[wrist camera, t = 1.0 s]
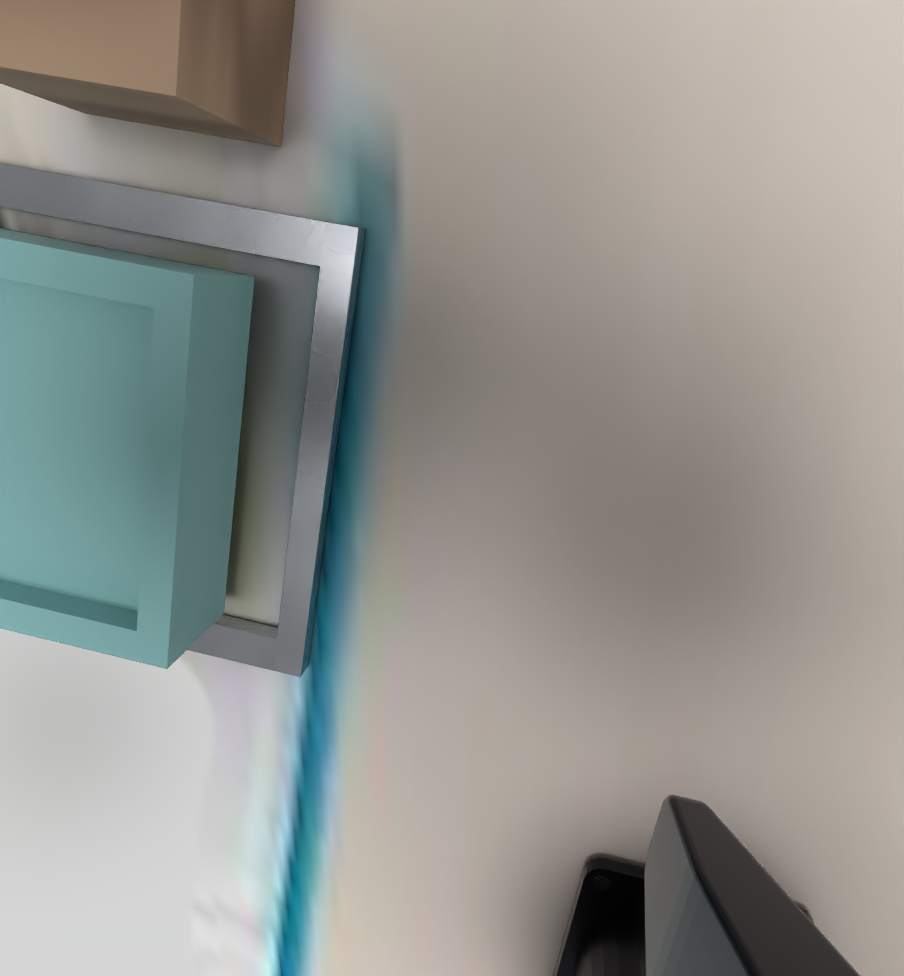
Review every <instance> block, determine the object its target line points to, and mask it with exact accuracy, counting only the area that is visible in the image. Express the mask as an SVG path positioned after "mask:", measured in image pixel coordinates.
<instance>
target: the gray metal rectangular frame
mask: <svg viewBox="0 0 904 976" xmlns="http://www.w3.org/2000/svg"><path fill="white" fill-rule="evenodd" d="M0 207H5V208H10V209H16V210H21V211H26V212H32V213H37V214H43V215H48V216H53V217H59V218H64V219H69V220H75V221H80V222H85V223H91V224H96V225H102V226H107V227H112V228H118V229H123V230H128V231H134V232H139V233H145V234H150V235H155V236H161V237H166V238H171V239H177V240H182V241H188V242H193V243H198V244H204V245H209V246H214V247H220V248H225V249H230V250H236V251H241V252H247V253H252V254H257V255H263V256H268V257H273V258H279V259H284V260H290V261H295V262H300V263H306V264H311V265H316V266H320V273H319V281H318V290H317V299H316V307H315V316H314V324H313V333H312V341H311V350H310V359H309V367H308V376H307V384H306V393H305V402H304V410H303V419H302V427H301V436H300V445H299V453H298V462H297V470H296V479H295V488H294V496H293V505H292V513H291V522H290V531H289V539H288V548H287V556H286V565H285V573H284V582H283V591H282V599H281V608H280V616H279V625H278V627H274V626H269V625H265V624H261V623H256V622H252V621H248V620H244V619H239V618H235V617H231V616H227V615H222V616H221V617H220V618H219V619H218V620H217V621H216V622H215V623H214V624H213V625H212V626H211V627H210V628H209V629H208V630H207V631H206V632H205V633H204V634H203V635H201V636H200V637H199V638H198V639H197V640H196V641H195V642H194V643H193V644H192V645H191V646H190V647H189V648H188V649H187V650H191V651H195V652H199V653H203V654H207V655H211V656H215V657H220V658H224V659H228V660H232V661H236V662H240V663H245V664H249V665H253V666H257V667H261V668H265V669H269V670H274V671H278V672H282V673H286V674H290V675H294V676H299V677H301V675H302V674H303V672H304V671H305V669H306V668H307V667H308V660H309V652H310V645H311V637H312V630H313V622H314V615H315V607H316V599H317V592H318V584H319V577H320V569H321V561H322V554H323V546H324V539H325V531H326V523H327V516H328V508H329V501H330V493H331V486H332V478H333V470H334V463H335V455H336V448H337V440H338V432H339V425H340V417H341V410H342V402H343V395H344V387H345V379H346V372H347V364H348V357H349V349H350V341H351V334H352V326H353V319H354V311H355V304H356V296H357V288H358V281H359V273H360V266H361V258H362V250H363V243H364V235H365V230H364V229H361V228H356V227H351V226H345V225H340V224H334V223H328V222H323V221H317V220H312V219H306V218H301V217H295V216H290V215H284V214H278V213H273V212H267V211H262V210H256V209H251V208H245V207H240V206H234V205H229V204H223V203H217V202H212V201H206V200H201V199H195V198H190V197H184V196H179V195H173V194H168V193H162V192H156V191H151V190H145V189H140V188H134V187H129V186H123V185H118V184H112V183H107V182H101V181H95V180H90V179H84V178H79V177H73V176H68V175H62V174H57V173H51V172H45V171H40V170H34V169H29V168H23V167H18V166H12V165H7V164H1V163H0Z"/></svg>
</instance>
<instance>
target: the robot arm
mask: <svg viewBox="0 0 904 976" xmlns="http://www.w3.org/2000/svg"><path fill="white" fill-rule="evenodd" d="M597 876H605V877H607V878H606V879H603V880H602V879H597V878H595V877H597ZM553 976H860V975H859V974H858V973H857V972H856V971H855V969H854V968H853V967H852V966H851V965H850V964H849V963H848V962H847V960H846V959H845V958H844V957H843V956H842V955H841V954H840V953H839V952H838V950H837V949H836V948H835V947H834V946H833V945H832V944H831V943H830V942H829V940H828V939H827V938H826V937H825V936H824V935H823V934H822V933H821V931H820V930H819V929H818V928H817V927H816V926H815V925H814V922H813V920H812V917H811V915H810V914H809V913H808V912H807V911H805V910H803V909H800V908H799V907H798V906H797V905H796V904H795V902H794V901H793V900H792V899H791V898H790V897H789V896H788V895H787V894H786V892H785V891H784V890H783V889H782V888H781V887H780V886H779V885H778V884H777V882H776V881H775V880H774V879H773V878H772V877H771V876H770V875H769V874H768V872H767V871H766V870H765V869H764V868H763V867H762V866H761V865H760V863H759V862H758V861H757V860H756V859H755V858H754V857H753V856H752V855H751V853H750V852H749V851H748V850H747V849H746V848H745V847H744V846H743V845H742V843H741V842H740V841H739V840H738V839H737V838H736V837H735V836H734V834H733V833H732V832H731V831H730V830H729V829H728V828H727V827H726V826H725V824H724V823H723V822H722V821H721V820H720V819H719V818H718V817H717V816H716V814H715V813H714V812H713V811H712V810H711V809H710V808H709V807H708V806H707V805H706V804H705V803H703V802H700V801H696V800H692V799H688V798H684V797H679V796H675V795H670V796H668V797H666V799H665V800H664V802H663V804H662V806H661V810H660V813H659V816H658V820H657V823H656V826H655V829H654V833H653V836H652V839H651V843H650V846H649V849H648V853H647V858H646V864H645V869H644V868H640V867H636V866H632V865H628V864H624V863H620V862H616V861H612V860H609V859H604V858H595V859H591V860H590V861H589V862H587V863H586V865H585V866H584V868H583V872H582V875H581V879H580V882H579V886H578V889H577V893H576V897H575V900H574V904H573V907H572V911H571V914H570V918H569V921H568V925H567V928H566V932H565V935H564V939H563V942H562V946H561V949H560V953H559V956H558V960H557V964H556V967H555V971H554V974H553Z"/></svg>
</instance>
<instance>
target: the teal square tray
mask: <svg viewBox="0 0 904 976" xmlns="http://www.w3.org/2000/svg"><path fill="white" fill-rule="evenodd" d="M254 278H255V276H250V275H245V274H239V273H234V272H229V271H223V270H218V269H213V268H208V267H202V266H197V265H192V264H186V263H181V262H176V261H171V260H165V259H160V258H155V257H149V256H144V255H139V254H134V253H128V252H123V251H118V250H112V249H107V248H102V247H97V246H91V245H86V244H81V243H75V242H70V241H65V240H60V239H54V238H49V237H44V236H38V235H33V234H28V233H23V232H17V231H12V230H7V229H1V228H0V628H1V629H5V630H9V631H14V632H18V633H22V634H26V635H30V636H34V637H38V638H42V639H46V640H51V641H55V642H59V643H63V644H67V645H71V646H75V647H79V648H83V649H87V650H92V651H96V652H100V653H104V654H108V655H112V656H116V657H120V658H124V659H129V660H132V661H137V662H141V663H145V664H149V665H153V666H157V667H161V668H165V669H167V668H168V667H169V666H171V665H172V663H174V662H175V661H176V660H177V659H178V658H179V657H180V656H181V655H182V654H183V653H184V652H185V651H186V650H187V649H188V648H189V647H190V646H191V645H192V644H193V643H194V642H195V641H196V640H197V639H198V638H199V637H200V636H201V635H203V634H204V633H205V632H206V631H207V630H208V629H209V628H210V627H211V626H212V625H213V624H214V623H215V622H216V621H217V620H218V619H219V618H220V617H221V616H222V615H223V614H224V606H225V595H226V584H227V573H228V562H229V552H230V541H231V530H232V519H233V508H234V497H235V486H236V475H237V464H238V453H239V442H240V431H241V420H242V409H243V399H244V388H245V377H246V366H247V355H248V344H249V333H250V322H251V311H252V300H253V289H254Z"/></svg>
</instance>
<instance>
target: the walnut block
mask: <svg viewBox="0 0 904 976" xmlns="http://www.w3.org/2000/svg"><path fill="white" fill-rule="evenodd" d="M294 8H295V0H0V83H1V84H4V85H7V86H10V87H12V88H15V89H18V90H21V91H24V92H26V93H29V94H32V95H35V96H38V97H40V98H43V99H46V100H49V101H52V102H54V103H57V104H60V105H63V106H66V107H69V108H71V109H74V110H77V111H80V112H83V113H86V114H91V115H97V116H103V117H109V118H115V119H121V120H126V121H132V122H138V123H144V124H150V125H156V126H161V127H167V128H173V129H179V130H185V131H191V132H196V133H202V134H208V135H214V136H220V137H226V138H231V139H237V140H243V141H249V142H255V143H261V144H266V145H272V146H278V147H281V142H282V132H283V121H284V111H285V101H286V90H287V80H288V70H289V59H290V49H291V39H292V28H293V18H294Z"/></svg>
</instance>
